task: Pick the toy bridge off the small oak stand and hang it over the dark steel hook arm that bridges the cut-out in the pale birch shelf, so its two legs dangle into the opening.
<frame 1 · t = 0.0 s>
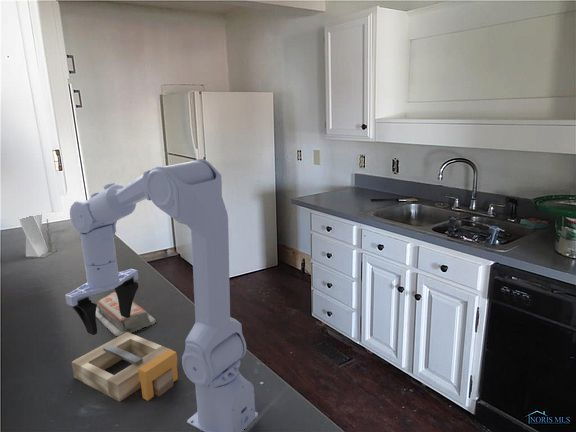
hand: (109, 324, 86), 10 cm above the worktop, tool pointing down, fingers open, 7 cm apart
oak stand: (161, 390, 81), on the worktop
toy bridge: (160, 388, 81), on the worktop, touching oak stand
packaged product: (123, 320, 110), on the worktop
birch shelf: (125, 373, 87), on the worktop
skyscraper: (38, 255, 156), on the worktop
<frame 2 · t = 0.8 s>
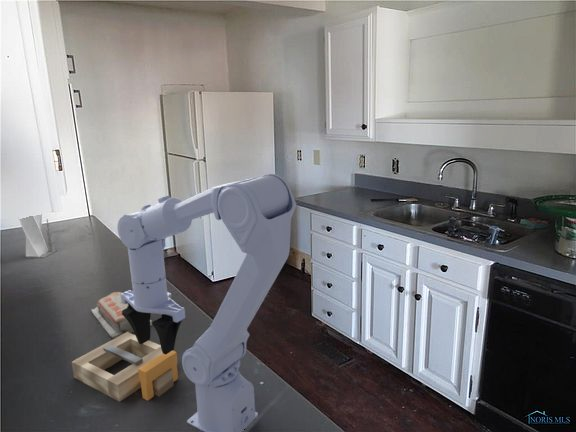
hand: (156, 346, 79), 9 cm above the worktop, tool pointing down, fingers open, 6 cm apart
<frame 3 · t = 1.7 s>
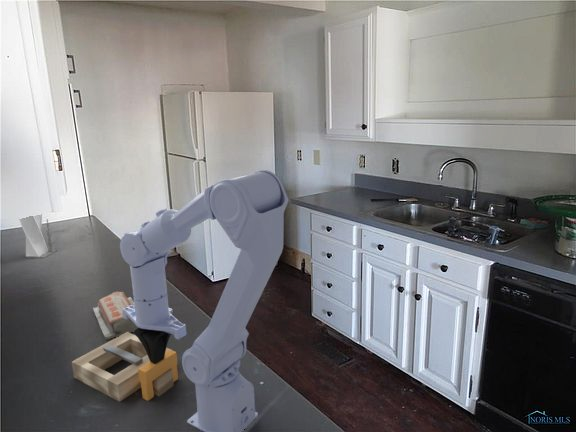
hand: (157, 361, 80), 6 cm above the worktop, tool pointing down, fingers closed, pressing on toy bridge
toy bridge: (161, 388, 81), on the worktop, touching gripper, oak stand
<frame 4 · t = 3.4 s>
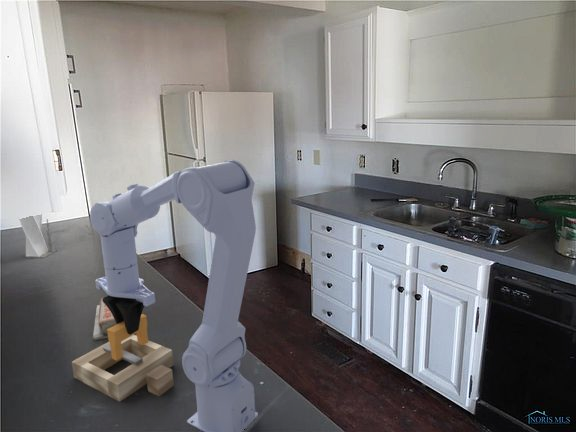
hand: (129, 330, 83), 11 cm above the worktop, tool pointing down, fingers closed on toy bridge
toy bridge: (130, 350, 84), point 6 cm above the worktop, touching gripper
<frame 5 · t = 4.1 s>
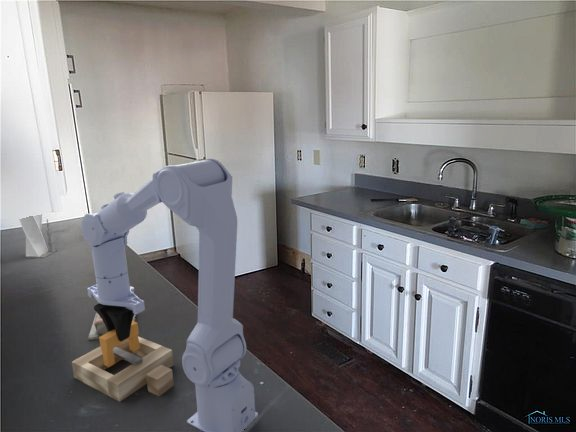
hand: (120, 337, 85), 8 cm above the worktop, tool pointing down, fingers closed on toy bridge
toy bridge: (122, 356, 86), point 4 cm above the worktop, touching gripper
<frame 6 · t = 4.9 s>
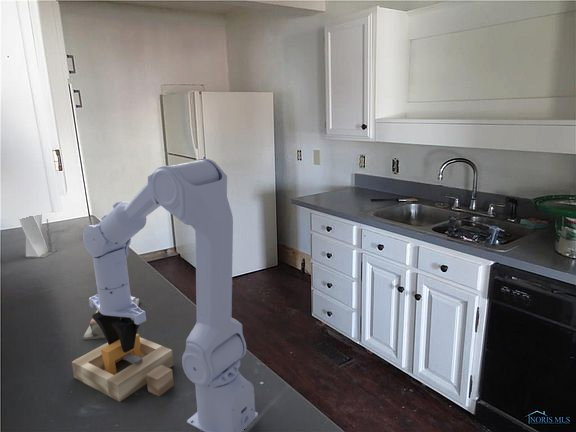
hand: (121, 346, 85), 6 cm above the worktop, tool pointing down, fingers open, 4 cm apart
toy bridge: (124, 368, 87), point 1 cm above the worktop, touching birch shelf
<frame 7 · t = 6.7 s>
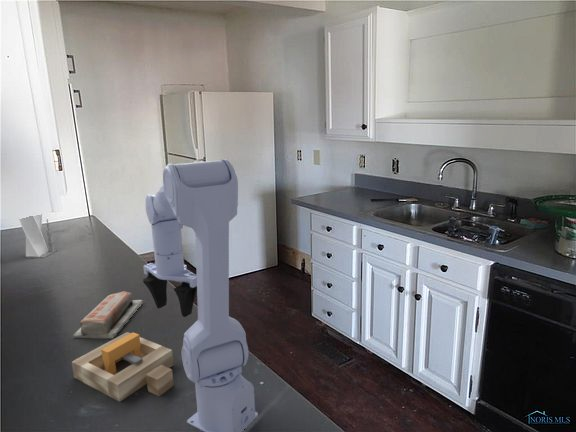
hand: (174, 310, 92), 9 cm above the worktop, tool pointing down, fingers open, 7 cm apart
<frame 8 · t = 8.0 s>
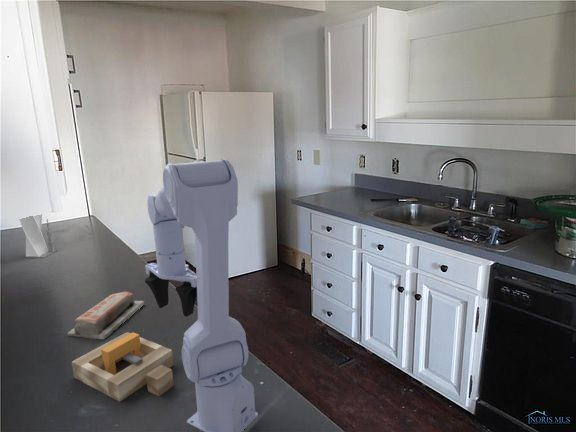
hand: (175, 310, 93), 9 cm above the worktop, tool pointing down, fingers open, 7 cm apart
at the end: toy bridge 0.0 cm off-centre on the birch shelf, point 1.1 cm above the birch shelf's base; toy bridge tilted 0°; toy bridge touching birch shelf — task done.
